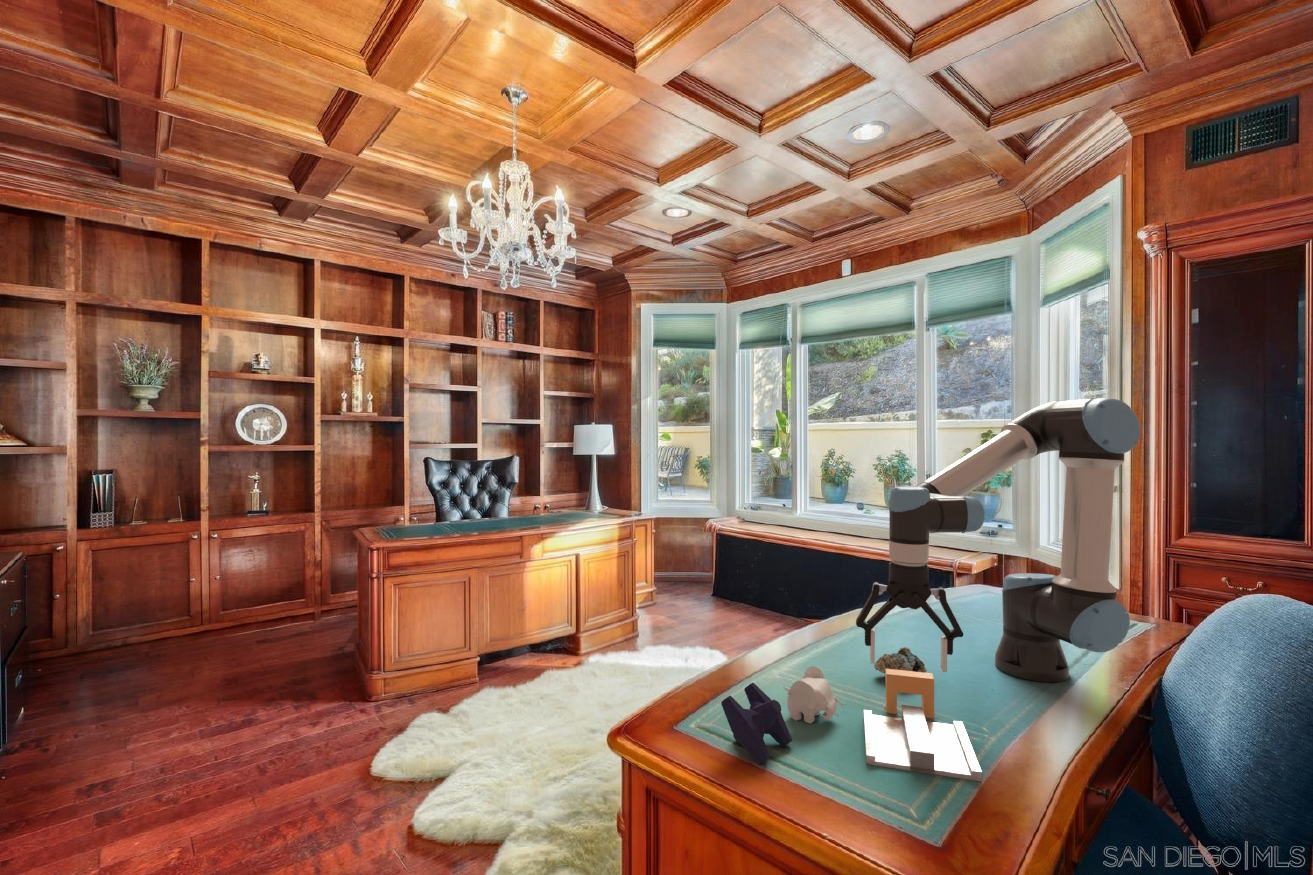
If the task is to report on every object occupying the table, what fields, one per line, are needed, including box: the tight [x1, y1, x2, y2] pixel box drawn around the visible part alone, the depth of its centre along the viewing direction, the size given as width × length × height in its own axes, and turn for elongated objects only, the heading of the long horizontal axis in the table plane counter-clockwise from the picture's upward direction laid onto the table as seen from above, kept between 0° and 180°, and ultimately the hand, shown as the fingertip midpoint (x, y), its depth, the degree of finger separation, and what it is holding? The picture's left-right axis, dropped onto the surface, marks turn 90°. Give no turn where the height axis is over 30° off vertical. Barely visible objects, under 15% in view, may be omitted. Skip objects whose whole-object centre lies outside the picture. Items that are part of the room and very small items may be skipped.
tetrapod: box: [720, 682, 793, 765], centre depth 110 cm, size 11×12×11 cm
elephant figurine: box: [782, 665, 845, 724], centre depth 122 cm, size 10×12×9 cm
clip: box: [885, 669, 935, 719], centre depth 124 cm, size 9×3×8 cm, turn 72°
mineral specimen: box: [873, 647, 928, 675], centre depth 142 cm, size 12×9×8 cm
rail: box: [863, 704, 983, 782], centre depth 110 cm, size 18×18×4 cm
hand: (907, 665), depth 124 cm, fingers open, 13 cm apart
